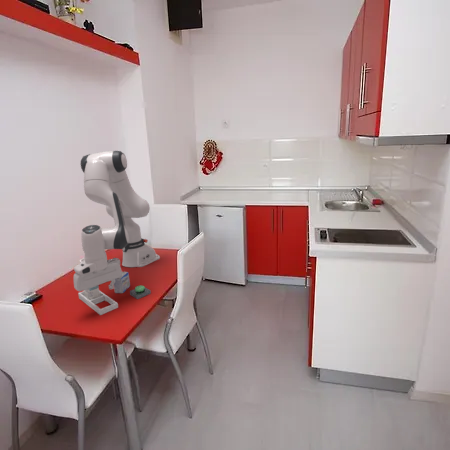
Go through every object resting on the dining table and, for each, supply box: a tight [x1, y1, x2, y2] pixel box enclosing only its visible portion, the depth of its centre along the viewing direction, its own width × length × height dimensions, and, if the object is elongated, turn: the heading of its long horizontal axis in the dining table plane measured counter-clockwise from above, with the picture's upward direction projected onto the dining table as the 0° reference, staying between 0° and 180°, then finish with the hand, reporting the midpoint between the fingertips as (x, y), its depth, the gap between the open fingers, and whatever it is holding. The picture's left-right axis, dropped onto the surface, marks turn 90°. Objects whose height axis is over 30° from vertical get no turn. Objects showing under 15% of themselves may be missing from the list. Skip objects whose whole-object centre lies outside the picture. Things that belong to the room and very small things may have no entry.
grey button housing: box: [129, 287, 152, 300], centre depth 153 cm, size 7×7×3 cm
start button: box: [134, 284, 146, 293], centre depth 152 cm, size 4×4×4 cm
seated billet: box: [83, 285, 100, 300], centre depth 150 cm, size 4×8×9 cm, turn 45°
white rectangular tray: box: [77, 289, 119, 316], centre depth 147 cm, size 8×23×3 cm, turn 45°
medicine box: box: [113, 271, 131, 294], centre depth 158 cm, size 8×4×9 cm, turn 170°
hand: (101, 292), depth 142 cm, fingers open, 8 cm apart
